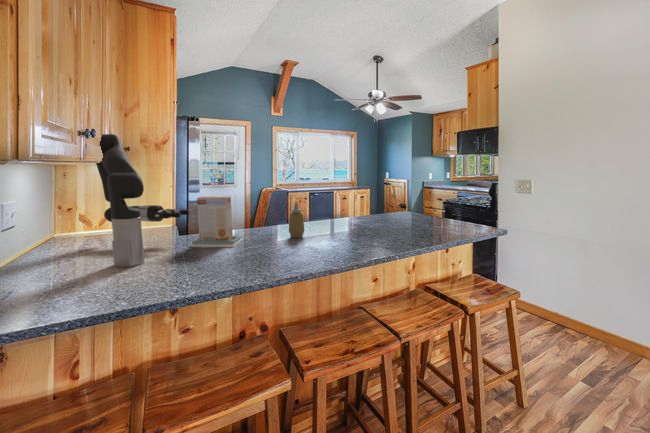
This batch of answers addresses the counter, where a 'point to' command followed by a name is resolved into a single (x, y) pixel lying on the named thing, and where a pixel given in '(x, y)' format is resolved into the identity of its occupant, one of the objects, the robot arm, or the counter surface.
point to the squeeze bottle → (296, 222)
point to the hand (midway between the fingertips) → (184, 213)
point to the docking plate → (216, 242)
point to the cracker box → (215, 218)
